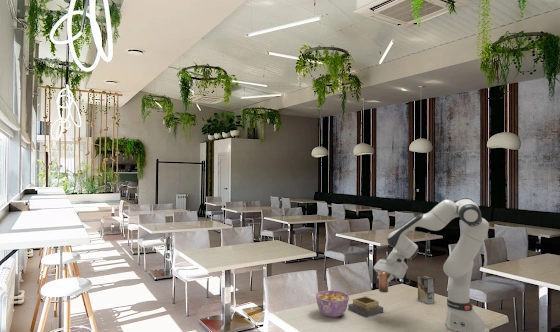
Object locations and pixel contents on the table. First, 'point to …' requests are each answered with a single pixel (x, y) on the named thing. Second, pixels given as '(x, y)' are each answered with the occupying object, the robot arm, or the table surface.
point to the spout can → (383, 281)
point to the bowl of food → (332, 302)
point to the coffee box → (426, 289)
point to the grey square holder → (365, 306)
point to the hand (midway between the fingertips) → (382, 280)
